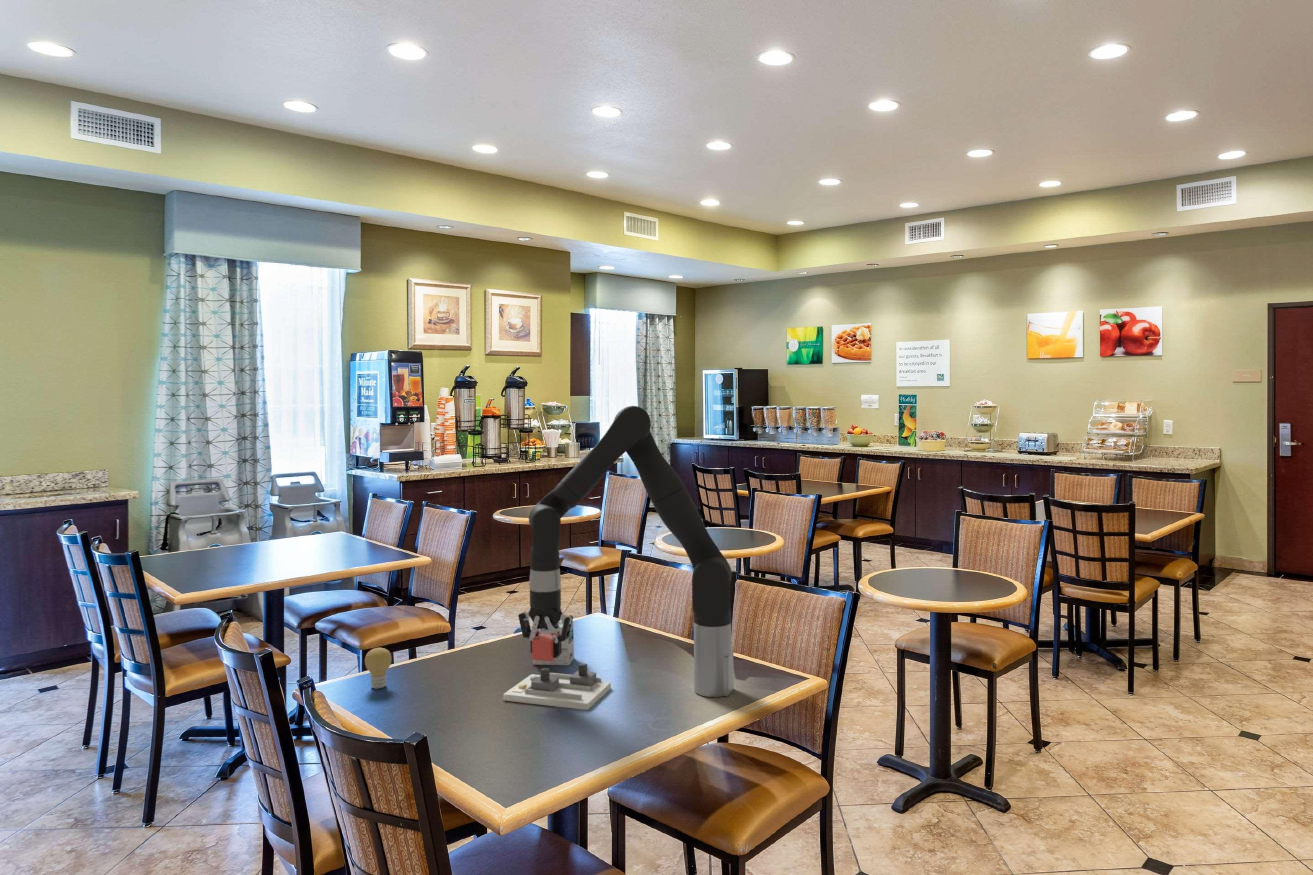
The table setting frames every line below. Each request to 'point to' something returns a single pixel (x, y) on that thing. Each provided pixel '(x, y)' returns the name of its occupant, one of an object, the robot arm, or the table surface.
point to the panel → (562, 690)
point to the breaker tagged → (545, 681)
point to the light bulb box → (567, 649)
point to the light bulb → (378, 666)
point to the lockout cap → (542, 648)
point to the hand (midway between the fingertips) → (545, 655)
